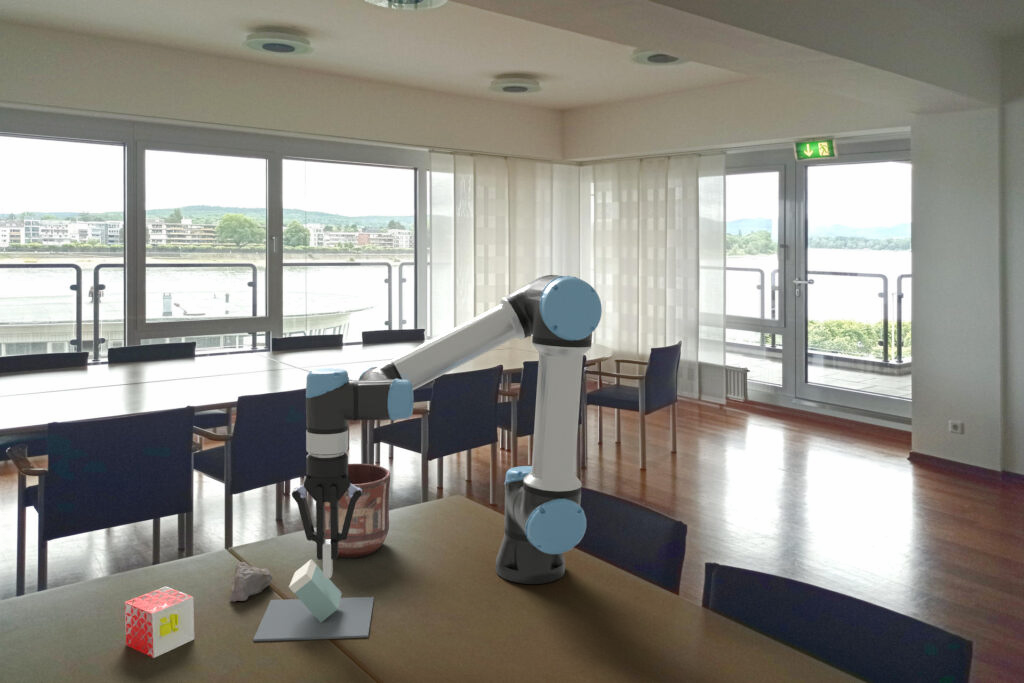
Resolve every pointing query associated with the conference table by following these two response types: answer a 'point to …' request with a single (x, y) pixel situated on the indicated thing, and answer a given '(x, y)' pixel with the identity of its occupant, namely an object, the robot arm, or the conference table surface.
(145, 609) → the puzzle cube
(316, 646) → the conference table surface
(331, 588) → the painted block
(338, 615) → the slate mat
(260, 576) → the stone
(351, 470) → the pottery
